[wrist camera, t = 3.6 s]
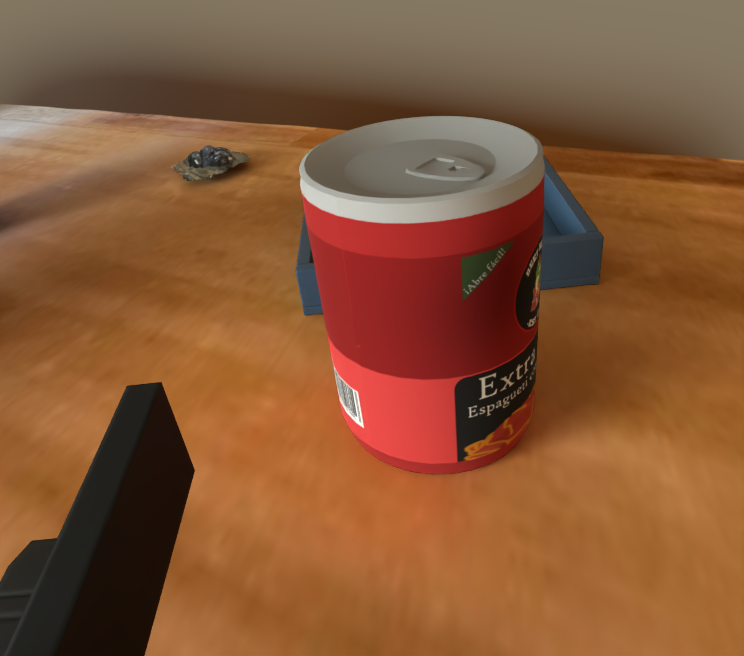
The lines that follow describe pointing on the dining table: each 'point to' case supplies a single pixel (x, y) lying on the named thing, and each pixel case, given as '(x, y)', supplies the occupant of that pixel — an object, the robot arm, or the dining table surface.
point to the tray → (559, 246)
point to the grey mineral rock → (209, 163)
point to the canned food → (430, 284)
